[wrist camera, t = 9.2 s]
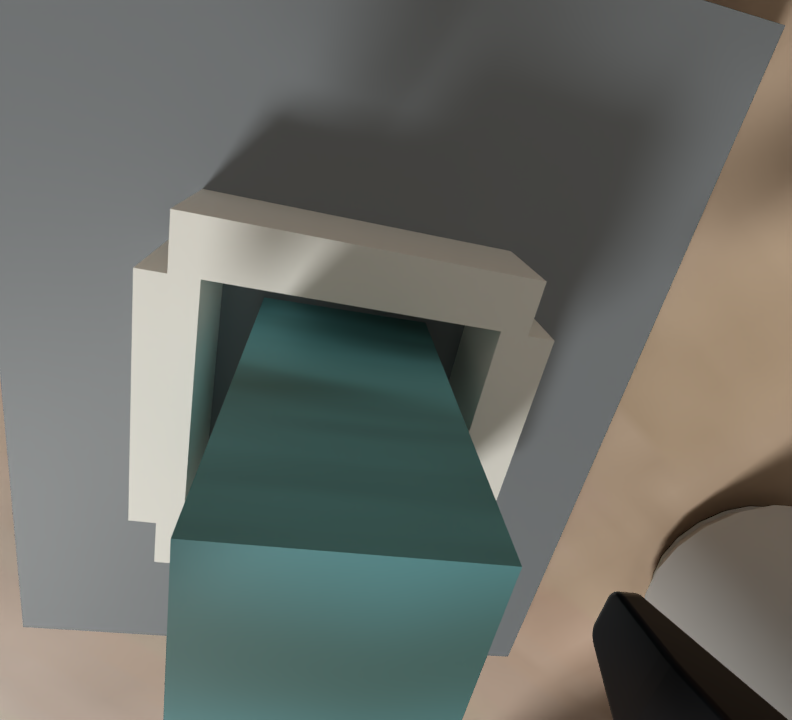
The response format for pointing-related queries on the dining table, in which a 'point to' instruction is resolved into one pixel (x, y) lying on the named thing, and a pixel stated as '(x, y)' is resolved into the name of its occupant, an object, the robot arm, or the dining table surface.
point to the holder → (333, 238)
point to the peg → (335, 534)
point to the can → (735, 595)
